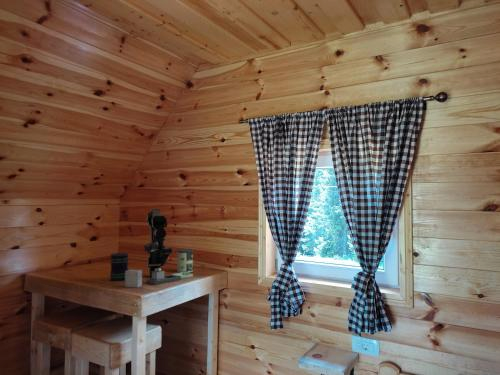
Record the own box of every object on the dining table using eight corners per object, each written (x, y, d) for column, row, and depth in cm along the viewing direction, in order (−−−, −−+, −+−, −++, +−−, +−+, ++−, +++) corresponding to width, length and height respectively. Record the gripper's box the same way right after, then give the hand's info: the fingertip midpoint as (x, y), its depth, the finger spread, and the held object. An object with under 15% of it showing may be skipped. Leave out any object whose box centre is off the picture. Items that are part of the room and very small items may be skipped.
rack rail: (145, 282, 208) (145, 279, 208) (171, 277, 222) (171, 274, 222) (155, 285, 202) (155, 281, 202) (181, 279, 216) (181, 276, 216)
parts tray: (171, 276, 224) (171, 274, 224) (183, 274, 231) (183, 272, 231) (180, 279, 218) (180, 276, 218) (192, 276, 225) (192, 274, 225)
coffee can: (191, 269, 248) (191, 248, 249) (193, 272, 238) (194, 250, 239) (176, 270, 245) (176, 249, 246) (177, 273, 235) (178, 251, 236)
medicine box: (142, 286, 201) (142, 270, 201) (137, 287, 196) (137, 271, 197) (129, 285, 203) (129, 269, 203) (124, 287, 198) (124, 270, 199)
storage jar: (107, 281, 211) (108, 255, 211) (113, 278, 220) (113, 253, 221) (125, 281, 211) (125, 255, 212) (129, 277, 221) (130, 253, 222)
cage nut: (151, 282, 209) (151, 268, 209) (159, 281, 213) (159, 267, 213) (156, 284, 206) (157, 269, 206) (164, 282, 209) (164, 268, 210)
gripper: (137, 236, 210) (136, 264, 210) (156, 239, 198) (155, 268, 197) (153, 235, 218) (153, 261, 218) (173, 237, 206) (172, 265, 206)
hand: (158, 264), depth 210 cm, fingers open, 9 cm apart
